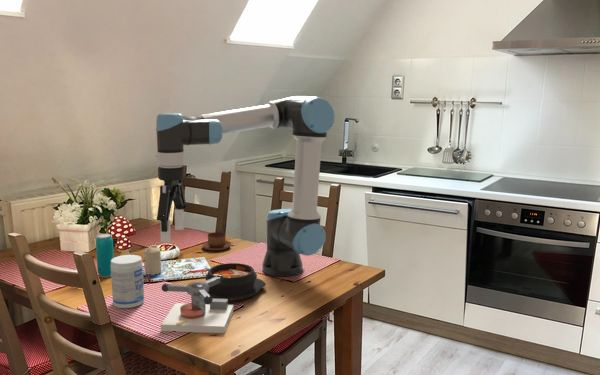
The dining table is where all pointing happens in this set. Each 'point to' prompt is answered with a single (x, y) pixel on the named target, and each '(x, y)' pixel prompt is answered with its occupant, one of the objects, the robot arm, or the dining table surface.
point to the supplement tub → (127, 281)
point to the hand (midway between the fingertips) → (173, 235)
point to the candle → (153, 260)
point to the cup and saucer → (216, 242)
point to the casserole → (234, 281)
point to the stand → (200, 318)
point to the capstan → (195, 296)
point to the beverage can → (104, 254)
